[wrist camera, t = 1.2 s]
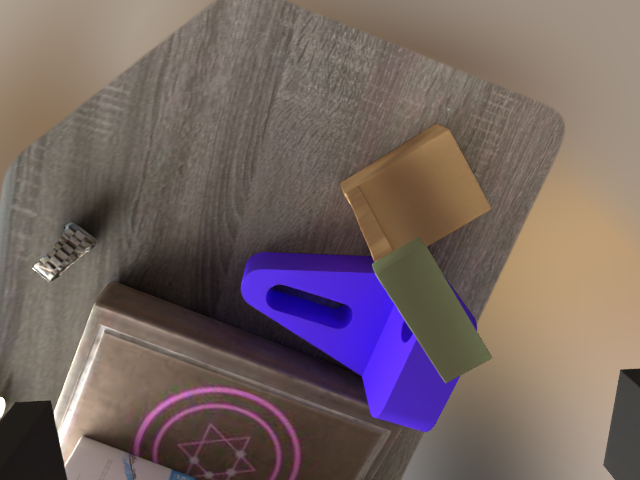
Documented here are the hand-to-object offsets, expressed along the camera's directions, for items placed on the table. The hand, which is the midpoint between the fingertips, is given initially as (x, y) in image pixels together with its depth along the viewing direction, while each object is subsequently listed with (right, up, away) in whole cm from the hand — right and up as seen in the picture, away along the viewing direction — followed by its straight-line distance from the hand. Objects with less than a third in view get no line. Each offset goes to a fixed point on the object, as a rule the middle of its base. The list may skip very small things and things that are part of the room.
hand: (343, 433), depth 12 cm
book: (-11, -14, +43) cm, 47 cm away
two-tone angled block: (+8, +9, +36) cm, 38 cm away
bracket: (+1, -1, +39) cm, 39 cm away
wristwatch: (-23, +4, +36) cm, 43 cm away
